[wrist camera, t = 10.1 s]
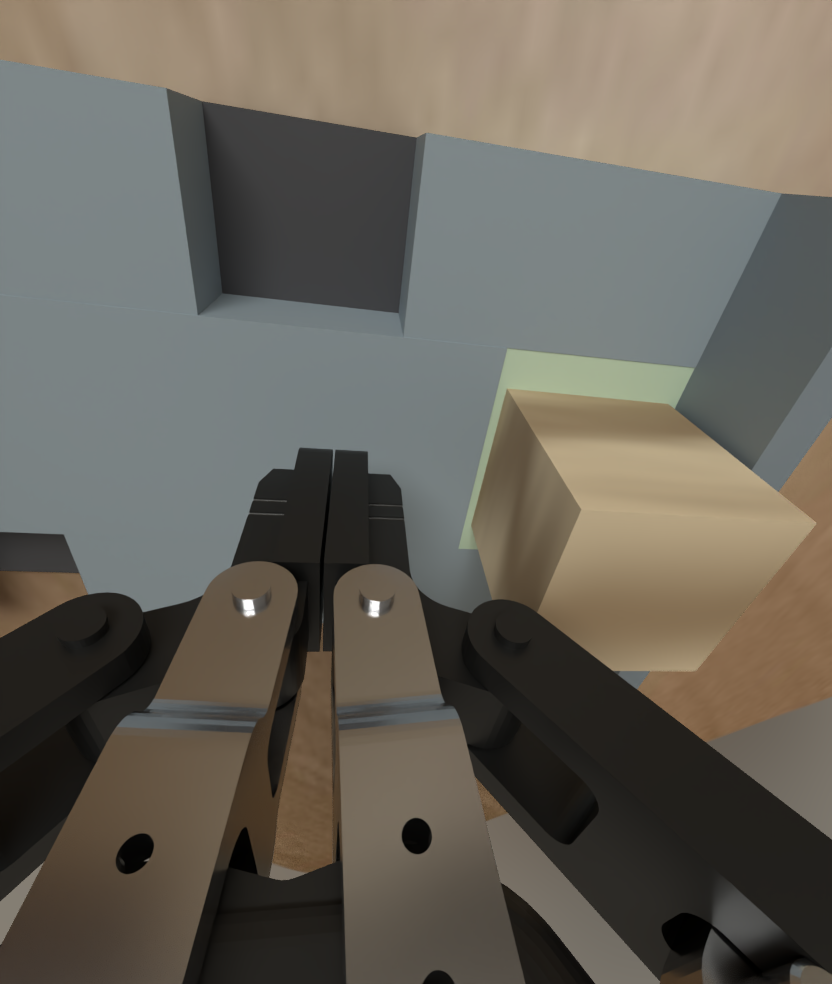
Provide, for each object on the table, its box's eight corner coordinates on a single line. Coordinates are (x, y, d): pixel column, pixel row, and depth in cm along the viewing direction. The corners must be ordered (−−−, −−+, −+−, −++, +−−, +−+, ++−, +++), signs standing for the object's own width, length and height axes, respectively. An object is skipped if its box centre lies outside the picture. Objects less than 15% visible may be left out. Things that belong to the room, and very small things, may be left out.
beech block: (506, 388, 12) (581, 509, 8) (668, 403, 12) (816, 523, 8) (471, 525, 14) (512, 670, 10) (605, 531, 15) (695, 671, 11)
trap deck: (-751, -59, 8) (-2288, -365, 3) (747, 194, 12) (978, 213, 7) (-204, 558, 16) (-428, 712, 11) (569, 581, 20) (627, 701, 15)
